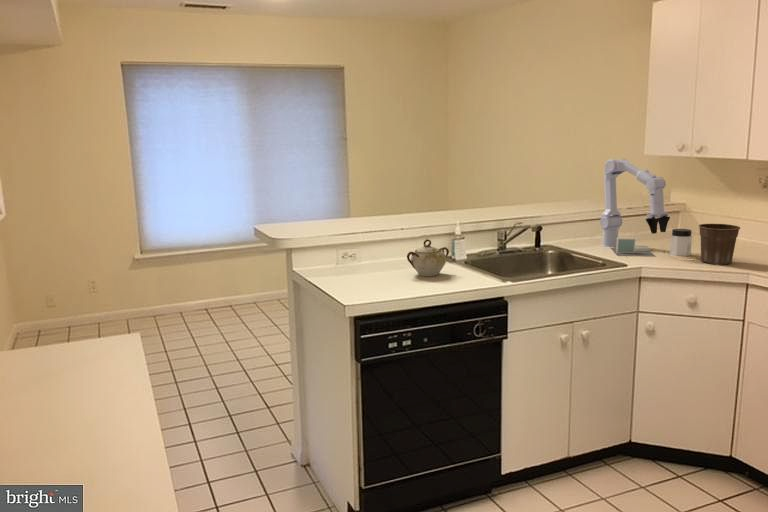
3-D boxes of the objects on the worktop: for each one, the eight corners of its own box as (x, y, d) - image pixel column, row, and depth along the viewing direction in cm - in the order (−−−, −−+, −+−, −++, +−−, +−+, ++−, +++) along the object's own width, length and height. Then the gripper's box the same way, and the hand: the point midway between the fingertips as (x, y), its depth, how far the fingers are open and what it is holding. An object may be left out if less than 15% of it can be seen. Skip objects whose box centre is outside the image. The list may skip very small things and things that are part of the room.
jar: (685, 257, 293) (687, 231, 291) (667, 255, 299) (669, 230, 296) (693, 254, 299) (694, 229, 297) (675, 252, 305) (677, 228, 302)
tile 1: (616, 252, 306) (617, 237, 305) (633, 252, 305) (634, 237, 304) (616, 252, 305) (617, 238, 304) (634, 253, 303) (635, 238, 302)
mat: (610, 248, 319) (610, 247, 318) (646, 249, 315) (646, 248, 315) (617, 257, 297) (617, 255, 297) (656, 257, 294) (656, 256, 294)
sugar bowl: (415, 280, 258) (415, 243, 255) (399, 273, 271) (398, 238, 268) (457, 275, 266) (457, 239, 263) (439, 268, 279) (439, 234, 276)
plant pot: (742, 266, 272) (745, 229, 269) (700, 265, 275) (703, 228, 272) (731, 259, 287) (734, 223, 284) (692, 258, 291) (694, 223, 288)
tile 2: (629, 248, 315) (630, 245, 315) (647, 248, 313) (647, 245, 313) (632, 251, 308) (632, 247, 308) (650, 251, 307) (650, 248, 306)
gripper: (656, 203, 289) (658, 233, 290) (673, 202, 297) (675, 231, 298) (642, 204, 295) (643, 234, 295) (659, 203, 303) (661, 231, 304)
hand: (658, 232), depth 297 cm, fingers open, 7 cm apart
